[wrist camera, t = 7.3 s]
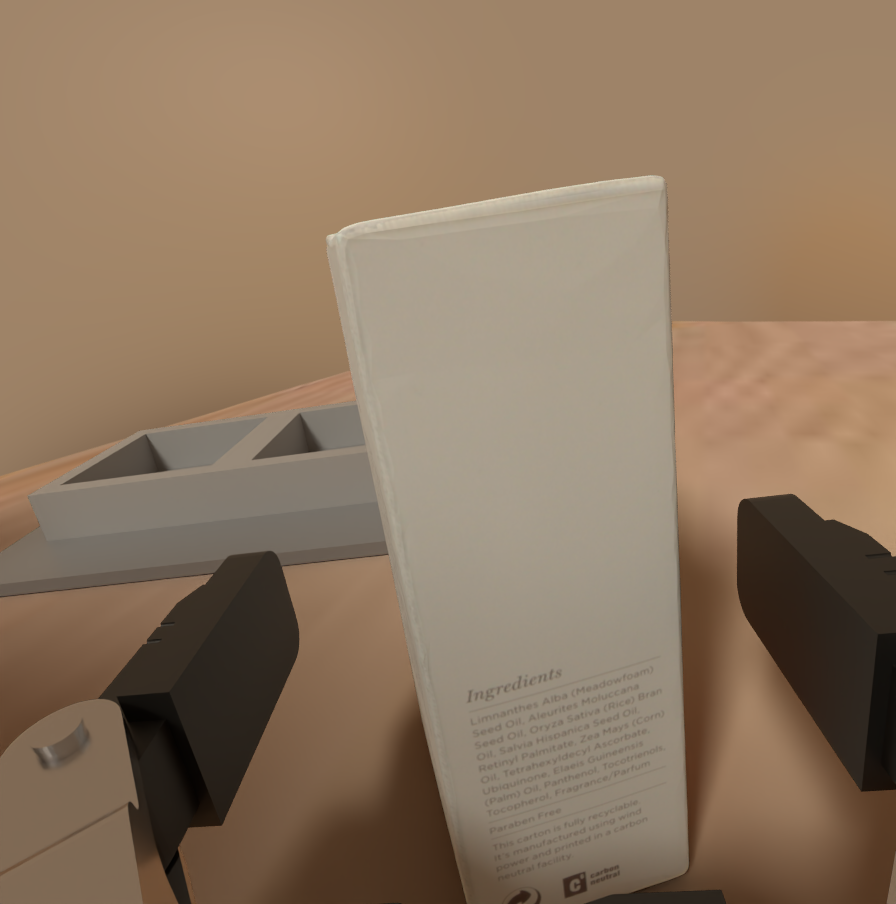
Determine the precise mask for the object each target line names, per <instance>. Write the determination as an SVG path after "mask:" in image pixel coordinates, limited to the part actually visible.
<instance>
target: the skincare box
mask: <svg viewBox="0 0 896 904" xmlns="http://www.w3.org/2000/svg"><path fill="white" fill-rule="evenodd" d="M326 243H327V245H328V246H327V255H328V260H329V265H330V270H331V275H332V280H333V284H334V289H335V295H336V299H337V304H338V309H339V314H340V319H341V324H342V329H343V334H344V339H345V344H346V350H347V355H348V360H349V365H350V370H351V375H352V380H353V385H354V390H355V395H356V400H357V405H358V410H359V415H360V420H361V424H362V429H363V434H364V439H365V443H366V448H367V453H368V458H369V462H370V467H371V472H372V477H373V482H374V486H375V491H376V496H377V501H378V506H379V510H380V515H381V520H382V525H383V530H384V534H385V539H386V544H387V549H388V554H389V559H390V564H391V568H392V573H393V578H394V583H395V588H396V593H397V598H398V603H399V608H400V613H401V618H402V622H403V628H404V633H405V638H406V643H407V648H408V653H409V658H410V663H411V668H412V673H413V679H414V683H415V688H416V693H417V698H418V703H419V708H420V713H421V718H422V723H423V727H424V731H425V735H426V740H427V744H428V748H429V752H430V756H431V761H432V765H433V769H434V773H435V777H436V782H437V786H438V790H439V794H440V798H441V802H442V806H443V810H444V814H445V818H446V822H447V826H448V830H449V834H450V838H451V842H452V846H453V850H454V854H455V858H456V862H457V866H458V870H459V874H460V878H461V882H462V886H463V890H464V894H465V898H466V902H467V904H584V903H587V902H590V901H593V900H596V899H599V898H602V897H605V896H608V895H611V894H629V893H632V892H635V891H638V890H641V889H644V888H647V887H650V886H653V885H656V884H659V883H662V882H665V881H668V880H671V879H673V878H676V877H679V876H681V875H683V874H684V873H685V872H686V871H687V869H688V868H689V847H688V807H687V787H686V756H685V725H684V699H683V661H682V625H681V586H680V566H679V537H678V505H677V477H676V451H675V416H674V384H673V346H672V321H671V296H670V295H671V294H670V293H671V292H670V259H669V238H668V197H667V184H666V182H665V180H664V179H663V178H662V177H660V176H654V175H651V176H643V177H634V178H626V179H617V180H609V181H601V182H594V183H588V184H582V185H575V186H569V187H562V188H555V189H549V190H543V191H538V192H532V193H526V194H520V195H515V196H509V197H503V198H497V199H492V200H486V201H481V202H475V203H469V204H463V205H458V206H452V207H446V208H441V209H435V210H430V211H423V212H417V213H411V214H405V215H399V216H393V217H387V218H380V219H375V220H370V221H364V222H360V223H355V224H353V225H350V226H348V227H345V228H343V229H342V230H340V231H339V232H338V233H336V234H331V235H328V236H327V238H326Z"/></svg>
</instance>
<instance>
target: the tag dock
mask: <svg viewBox="0 0 896 904" xmlns="http://www.w3.org/2000/svg"><path fill="white" fill-rule="evenodd" d="M28 499H29V501H30V503H31V506H32V508H33V510H34V512H35V515H36V517H37V519H38V522H39V524H40V526H39V527H38V528H36V529H35V530H33V531H32V532H30V533H29V534H27V535H26V536H24V537H23V538H21V539H20V540H18V541H17V542H15V543H14V544H12V545H11V546H9V547H8V548H6V549H5V550H3V551H2V552H0V597H1V596H10V595H19V594H28V593H37V592H46V591H55V590H65V589H74V588H83V587H92V586H101V585H110V584H119V583H128V582H138V581H147V580H156V579H165V578H174V577H183V576H192V575H202V574H211V573H215V572H216V571H217V569H218V568H219V567H220V565H221V564H222V563H223V562H224V560H225V559H226V558H227V557H228V556H230V555H235V554H244V553H253V552H262V551H273V552H274V553H275V554H276V555H277V557H278V558H279V561H280V563H281V566H284V565H293V564H302V563H311V562H320V561H329V560H339V559H348V558H357V557H366V556H375V555H384V554H388V549H387V544H386V539H385V534H384V530H383V525H382V520H381V515H380V510H379V506H378V501H377V496H376V491H375V486H374V482H373V477H372V472H371V467H370V462H369V458H368V453H367V448H366V443H365V439H364V434H363V429H362V424H361V420H360V415H359V410H358V405H357V401H351V402H344V403H337V404H330V405H322V406H315V407H308V408H301V409H294V410H286V411H279V412H272V413H265V414H258V415H250V416H243V417H236V418H229V419H222V420H214V421H207V422H200V423H193V424H186V425H178V426H171V427H164V428H157V429H150V430H143V431H139V432H137V433H135V434H133V435H132V436H130V437H128V438H126V439H125V440H123V441H121V442H119V443H118V444H116V445H114V446H112V447H111V448H109V449H107V450H106V451H104V452H102V453H100V454H99V455H97V456H95V457H93V458H92V459H90V460H88V461H87V462H85V463H83V464H81V465H80V466H78V467H76V468H75V469H73V470H71V471H69V472H68V473H66V474H64V475H62V476H61V477H59V478H57V479H56V480H54V481H52V482H50V483H49V484H47V485H45V486H43V487H42V488H40V489H38V490H37V491H35V492H33V493H31V494H30V495H28Z"/></svg>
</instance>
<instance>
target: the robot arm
mask: <svg viewBox="0 0 896 904" xmlns="http://www.w3.org/2000/svg"><path fill="white" fill-rule="evenodd" d="M737 588H738V594H739V599H740V603H741V606H742V609H743V612H744V614H745V616H746V618H747V620H748V622H749V623H750V625H751V626H752V628H753V629H754V631H755V632H756V634H757V635H758V637H759V638H760V640H761V641H762V643H763V644H764V646H765V647H766V649H767V650H768V652H769V653H770V655H771V656H772V658H773V659H774V661H775V662H776V664H777V665H778V667H779V668H780V670H781V671H782V673H783V674H784V676H785V677H786V679H787V680H788V682H789V683H790V685H791V686H792V688H793V689H794V691H795V692H796V694H797V695H798V697H799V698H800V700H801V701H802V703H803V704H804V706H805V707H806V709H807V711H808V712H809V714H810V715H811V717H812V718H813V720H814V721H815V723H816V724H817V726H818V727H819V729H820V730H821V732H822V733H823V735H824V736H825V738H826V739H827V741H828V742H829V744H830V745H831V747H832V748H833V750H834V751H835V753H836V754H837V756H838V757H839V759H840V760H841V762H842V763H843V765H844V766H845V768H846V769H847V771H848V772H849V774H850V775H851V777H852V778H853V780H854V781H855V783H856V784H857V786H858V787H859V789H860V790H861V792H863V791H880V790H896V556H895V557H892V556H891V552H889V551H888V550H887V549H886V548H884V547H883V546H882V545H881V544H879V543H878V542H877V541H876V540H874V539H873V538H872V537H871V536H869V535H868V534H867V533H864V532H862V531H859V530H857V529H855V528H852V527H850V526H848V525H845V524H843V523H841V522H838V521H836V520H826V521H824V520H823V519H822V518H821V517H820V516H819V515H817V514H816V513H815V512H814V511H813V510H812V509H811V508H809V507H808V506H807V505H806V504H805V503H804V502H802V501H801V500H800V499H799V498H798V497H797V496H795V495H793V494H785V495H776V496H767V497H758V498H749V499H743V500H742V501H741V502H740V504H739V507H738V516H737ZM298 649H299V628H298V623H297V619H296V615H295V612H294V608H293V605H292V602H291V598H290V595H289V591H288V588H287V584H286V581H285V577H284V574H283V570H282V567H281V563H280V561H279V558H278V557H277V555H276V554H275V553H274V552H273V551H262V552H253V553H244V554H235V555H230V556H228V557H227V558H226V559H225V560H224V562H223V563H222V564H221V565H220V567H219V568H218V569H217V571H216V572H215V573H214V574H213V576H212V577H211V578H210V579H209V581H208V582H207V583H206V584H205V585H202V586H201V587H199V588H198V589H196V590H195V591H194V592H192V593H191V594H189V595H188V596H187V597H185V598H184V599H183V600H181V601H180V602H178V603H177V604H176V606H175V607H174V608H173V609H172V610H171V612H170V613H169V614H168V615H167V616H166V618H165V619H164V620H163V621H162V622H161V627H157V628H156V630H155V631H154V632H153V633H152V634H151V636H150V637H149V638H148V639H147V644H143V645H142V647H141V648H140V649H139V650H138V651H137V653H136V654H135V655H134V656H133V657H132V659H131V660H130V661H129V662H128V663H127V665H126V666H125V667H124V668H123V669H122V671H121V672H120V673H119V674H118V675H117V677H116V678H115V679H114V680H113V681H112V683H111V684H110V685H109V686H108V687H107V689H106V690H105V691H104V692H103V694H102V695H101V696H100V697H99V698H98V699H93V700H87V701H82V702H78V703H75V704H72V705H69V706H67V707H64V708H62V709H60V710H58V711H56V712H54V713H52V714H50V715H48V716H46V717H44V718H43V719H41V720H39V721H38V722H36V723H35V724H34V725H32V726H31V727H29V728H28V729H27V730H25V731H24V732H23V733H22V734H21V735H19V736H18V737H17V738H16V739H15V740H14V741H13V742H12V743H11V744H10V745H9V747H8V748H7V749H6V750H5V752H4V753H3V754H2V756H1V757H0V904H196V900H195V896H194V892H193V888H192V884H191V880H190V876H189V872H188V868H187V864H186V860H185V858H184V855H183V853H182V851H181V848H180V846H179V845H180V843H181V841H182V839H183V837H184V835H185V833H186V831H187V829H188V828H189V827H206V826H222V824H223V822H224V820H225V817H226V815H227V813H228V811H229V808H230V806H231V804H232V802H233V799H234V797H235V795H236V793H237V790H238V788H239V786H240V784H241V781H242V779H243V777H244V775H245V772H246V770H247V768H248V766H249V763H250V761H251V759H252V757H253V755H254V752H255V750H256V748H257V746H258V743H259V741H260V739H261V737H262V734H263V732H264V730H265V728H266V725H267V723H268V721H269V719H270V716H271V714H272V712H273V710H274V707H275V705H276V703H277V701H278V698H279V696H280V694H281V692H282V690H283V687H284V685H285V683H286V681H287V678H288V676H289V674H290V672H291V669H292V667H293V665H294V663H295V660H296V658H297V654H298ZM387 904H401V903H387ZM584 904H726V902H725V899H724V896H723V893H722V890H705V891H681V892H656V893H632V894H611V895H608V896H605V897H602V898H599V899H596V900H593V901H590V902H587V903H584ZM887 904H896V853H895V859H894V864H893V870H892V876H891V882H890V887H889V893H888V899H887Z"/></svg>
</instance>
